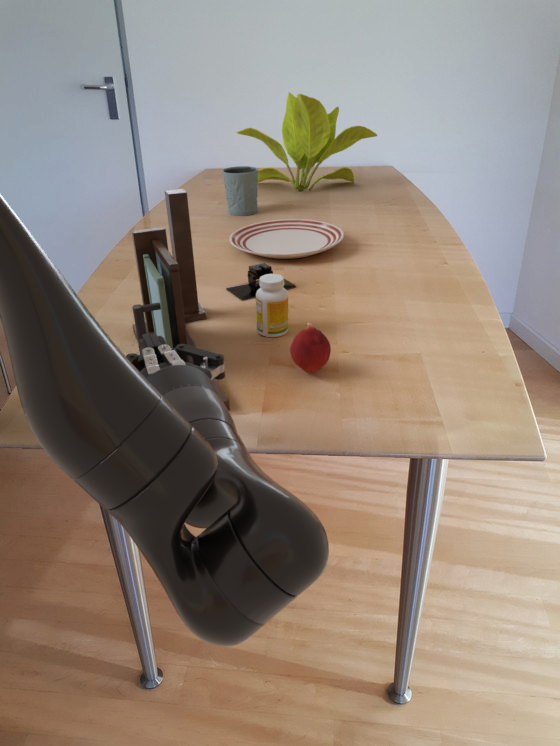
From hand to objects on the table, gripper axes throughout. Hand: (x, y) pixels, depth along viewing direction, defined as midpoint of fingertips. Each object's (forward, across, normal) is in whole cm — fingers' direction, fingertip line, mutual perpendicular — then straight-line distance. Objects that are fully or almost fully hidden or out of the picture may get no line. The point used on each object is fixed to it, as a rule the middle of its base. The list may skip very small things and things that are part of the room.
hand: (149, 341), depth 62 cm
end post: (+33, -12, +13) cm, 38 cm away
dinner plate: (+62, -43, +14) cm, 77 cm away
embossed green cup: (+98, -44, +14) cm, 109 cm away
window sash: (+18, -2, +12) cm, 22 cm away
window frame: (+16, -5, +13) cm, 22 cm away
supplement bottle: (+21, -23, +13) cm, 34 cm away
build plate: (+40, -28, +14) cm, 51 cm away
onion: (+6, -23, +13) cm, 27 cm away
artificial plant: (+120, -76, +14) cm, 142 cm away
